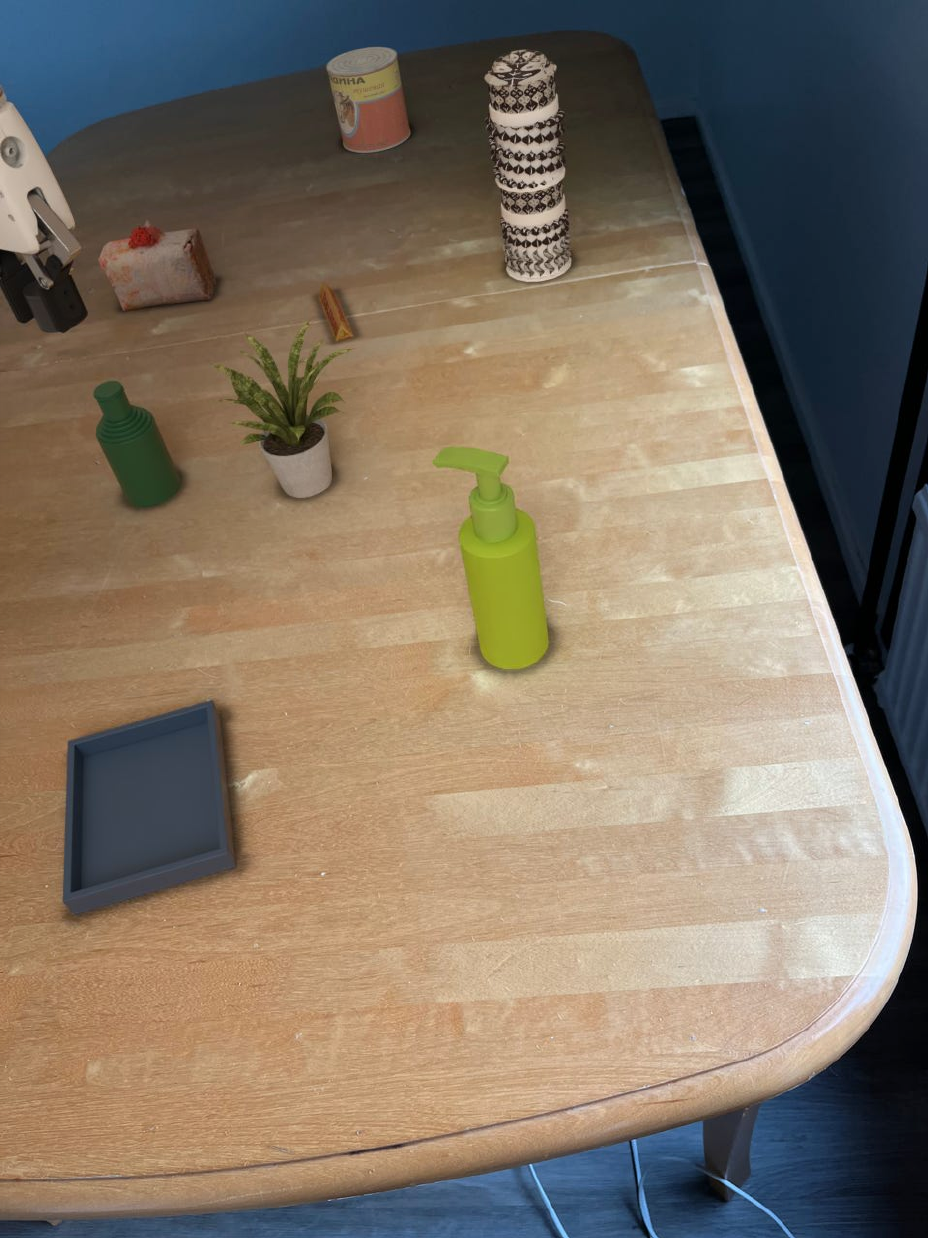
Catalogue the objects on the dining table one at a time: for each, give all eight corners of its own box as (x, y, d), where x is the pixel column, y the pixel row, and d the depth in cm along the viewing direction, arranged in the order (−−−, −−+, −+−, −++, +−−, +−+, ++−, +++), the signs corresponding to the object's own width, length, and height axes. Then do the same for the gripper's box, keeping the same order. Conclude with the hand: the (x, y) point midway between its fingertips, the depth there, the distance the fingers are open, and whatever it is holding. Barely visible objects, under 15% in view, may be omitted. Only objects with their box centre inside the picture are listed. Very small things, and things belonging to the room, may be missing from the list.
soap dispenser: (487, 610, 90) (454, 425, 76) (559, 629, 88) (539, 441, 73) (458, 658, 87) (417, 474, 73) (532, 678, 84) (505, 492, 70)
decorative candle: (522, 293, 127) (500, 80, 109) (491, 264, 134) (465, 58, 116) (587, 269, 129) (575, 56, 111) (553, 242, 135) (537, 36, 117)
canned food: (329, 144, 169) (312, 66, 161) (381, 119, 174) (366, 42, 165) (372, 158, 163) (355, 78, 154) (424, 131, 167) (411, 52, 159)
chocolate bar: (335, 343, 125) (330, 327, 124) (317, 299, 134) (313, 283, 132) (355, 337, 126) (351, 321, 124) (336, 294, 134) (332, 278, 132)
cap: (88, 324, 86) (72, 287, 84) (39, 338, 85) (22, 301, 83) (85, 304, 89) (70, 268, 87) (38, 318, 88) (22, 282, 86)
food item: (114, 317, 138) (84, 249, 131) (128, 288, 144) (100, 220, 137) (211, 305, 137) (186, 235, 130) (221, 276, 142) (198, 207, 135)
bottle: (115, 502, 109) (64, 401, 100) (150, 468, 113) (104, 367, 103) (158, 513, 107) (109, 411, 98) (192, 478, 110) (149, 376, 101)
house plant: (378, 425, 112) (345, 289, 100) (393, 503, 103) (358, 363, 91) (251, 453, 112) (203, 320, 100) (254, 534, 102) (201, 397, 91)
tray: (237, 869, 76) (228, 852, 74) (75, 917, 75) (62, 902, 73) (221, 716, 86) (212, 699, 85) (79, 757, 85) (67, 740, 84)
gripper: (62, 77, 72) (155, 312, 85) (-85, 65, 79) (21, 283, 92) (-19, 121, 68) (91, 360, 81) (-167, 104, 75) (-44, 326, 88)
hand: (53, 317), depth 86 cm, fingers closed on cap, 4 cm apart
